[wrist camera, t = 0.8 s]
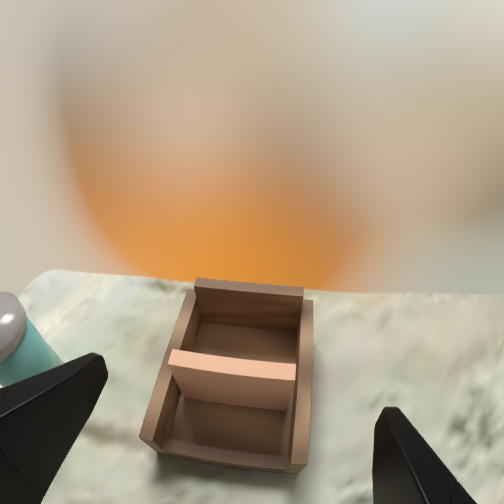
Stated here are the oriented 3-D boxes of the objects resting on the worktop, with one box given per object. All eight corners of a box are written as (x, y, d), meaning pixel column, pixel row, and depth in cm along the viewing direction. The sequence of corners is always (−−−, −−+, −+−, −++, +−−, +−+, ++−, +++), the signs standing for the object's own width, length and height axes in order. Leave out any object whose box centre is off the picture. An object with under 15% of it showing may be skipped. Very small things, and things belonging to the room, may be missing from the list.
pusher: (286, 410, 22) (295, 380, 18) (184, 397, 22) (167, 363, 19) (288, 397, 22) (296, 364, 19) (187, 384, 23) (172, 348, 20)
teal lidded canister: (35, 428, 19) (-33, 374, 13) (14, 378, 23) (-41, 318, 16) (85, 393, 23) (28, 329, 17) (58, 346, 27) (11, 279, 20)
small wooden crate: (297, 473, 18) (310, 460, 15) (156, 451, 20) (131, 431, 16) (306, 330, 29) (315, 288, 25) (195, 318, 30) (185, 276, 26)
